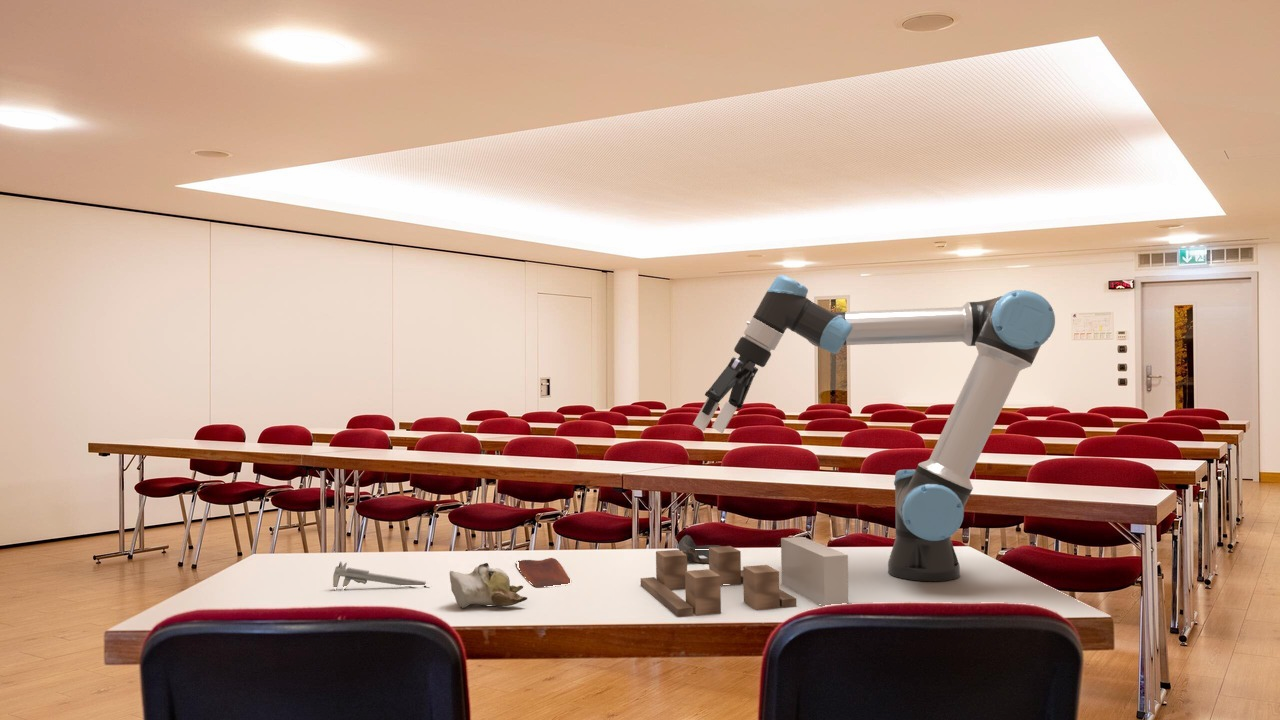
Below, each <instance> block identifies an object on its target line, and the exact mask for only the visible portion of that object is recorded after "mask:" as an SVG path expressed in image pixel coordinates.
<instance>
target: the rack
mask: <svg viewBox="0 0 1280 720" xmlns="http://www.w3.org/2000/svg"><path fill="white" fill-rule="evenodd" d="M741 555H742V554H741V551H740V550H739V549H737V548H736V547H733V546H731V545H727V546H722V547H710V548H709V563H708V569H696V570H695V569H694V570H688V555H687V553H683V552H682V551H680V550H679V549H670V550H669V549H668V550H656V551H655V572H656V573H655V575H656V576H655V577H654V576H652V577H640V586H641V587H642V588H643V589H644V590H646V591H647V592H648V593H649V594H650V595H651V596H653V597H654V598H655V599H656V600H657V601H658V602H659V603H661V604H662V605H663V606H665V608H667V609H668V610H669V611H671V613H672V614H674V615H675V616H676V617H677V618H679V617H680V618H681V617H693V616H703V615H704V616H705V615H714V614H721V613H722V605H721V604H722V594H721V592H722V591H721V590H722V589H721V588H722V586H721V585H723V584H738V585H743V604H746V605H747V606H749V607H751V608H752V609H754V610H755V611H759V610H770V609H780V608H791V607H797V598H796V597H794V596H793V595H791V594H789V593H788V592H786V591H784V590H782V589H781V588H780V570H778V569H776V568H774V567H772V566H770V565H769V564H760V565H746V566H743V567H742V566H741V564H742V561H741ZM742 583H743V584H742ZM674 590H684V591H685V592H684V593H685V600H684V599H683V598H681V596H679V595H678V594H677V593H675V592H674Z"/></svg>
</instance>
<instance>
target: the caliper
mask: <svg viewBox="0 0 1280 720" xmlns="http://www.w3.org/2000/svg"><path fill="white" fill-rule="evenodd" d="M347 564H348V562H347V561H346V562H344V564H343V562H342V561H339V565H336V567H335V568H334V572H333V577H332V584H333V585H332V587H337V588H338V586H339V581H340V578H341V577H343V583H342V586H343V587H344V586H347V585H348V586H349V583H350V582H351V580H352V581H354V582H356V583H357V584H358V583H362V584H364V585H365V584H367V582H368V581H369V582H375V583H382V584H388V585H389V584H390V585H395V586H396V585H397V586H401V585H425V584H427V581H426V580H419V579H418V580H417V579H412V578H406V577H400V576H392V575H387V574H379V573H372V572H370V571H369V570H366V569H362V568H361V569H360V568H355V567H347ZM348 586H347V587H348Z"/></svg>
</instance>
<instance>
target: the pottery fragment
mask: <svg viewBox="0 0 1280 720" xmlns="http://www.w3.org/2000/svg"><path fill="white" fill-rule="evenodd" d="M710 547H723V546H721V544H720V545H719V544H718V545H715V544H713V545H712V544H710V545H709V544H706V545H696V543H695V541H694V540H693V538H692V537H691V536H690V535H688V534H686V535H684V536H683V537H682V538H681V539H680V541H679V542H678V544H677V550H679V551H681V552H683V553H684V554H686V555H687V559H689V560H690V561H691V562H694V563H699V564H700V563H701V564H709V550H695V549H709V548H710Z"/></svg>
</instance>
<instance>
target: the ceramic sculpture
mask: <svg viewBox="0 0 1280 720" xmlns="http://www.w3.org/2000/svg"><path fill="white" fill-rule="evenodd" d="M449 580H450V582H449V583H450V587H451V590H450V591H451V592H452V594H453V596H454V598H455V602H456V604H457V606H458V607H459V606H460V607H459V608H461V607H462V608H461V609H465V608H466V607H468V606H469V605H471V604H472V605H473V604H475V605H480V606H483V605H485V606H484V607H487V606H486V605H497V606H505V607H509V606H514V605H517V604H519V603H522V602H525V601H527V600H528V597H527V596H521V595H520V594H519V593H518V592H520V591H521V590H522V589H523V588H524V585H518V586H515V585H511V582H510V577H509V576H508V574H507V573H506V572H505V571H504V570H502V569H500V568H490V566H489V563H488V562H485V563H482V564H481V563H480V564H479V565H478V566H476V567H475V568H474V570H473V571H471V572H469V573H461V572H459V571H454V570H450V571H449Z"/></svg>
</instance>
